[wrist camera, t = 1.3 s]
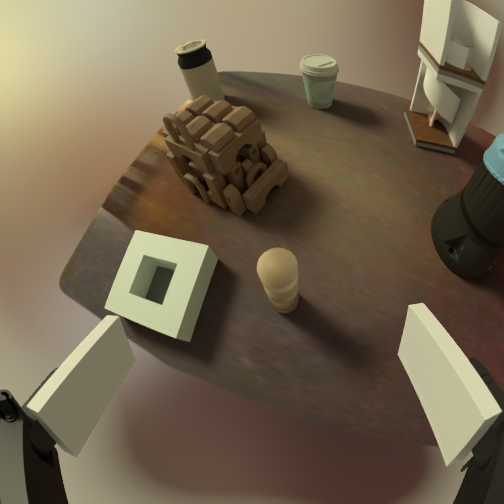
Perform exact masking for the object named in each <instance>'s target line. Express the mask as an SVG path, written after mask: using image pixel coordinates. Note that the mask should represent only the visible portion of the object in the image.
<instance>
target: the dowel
mask: <svg viewBox="0 0 504 504" xmlns="http://www.w3.org/2000/svg"><path fill="white" fill-rule="evenodd" d="M257 272H258V275H259V277H260V279H261V282H262V284H263V286H264V288H265V291H266V293H267V295H268V297H269V300H270V302H271V304H272V306H273V308H274V309H275V310H276V311H277V312H279V313H283V314H287V313H290V312H292V311H294V310H295V309H296V307H297V305H298V301H299V295H298V263H297V260H296V258H295V256H294V255H293V254H292V253H291V252H290V251H288V250H286V249H283V248H273V249H270V250H268V251H266V252H265V253H263V254H262V256H261V257H260V258H259V260H258V264H257Z"/></svg>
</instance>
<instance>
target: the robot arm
mask: <svg viewBox="0 0 504 504" xmlns="http://www.w3.org/2000/svg"><path fill="white" fill-rule="evenodd" d="M431 232H432V239H433V242H434V245H435V248H436V250H437V252H438V254H439V256H440V258H441V259H442V260H443V262H444V263H445V264H446V265H447V267H448V268H449V269H451V270H452V271H453V272H454V273H456V274H457V275H459V276H461V277H464V278H468V279H475V278H478V277H481V276H482V275H484V274H485V273H487V272H488V271H489V270H491V268H492V267H493V266H494V264H495V263H496V261H497V258H498V256H499V255H500V254H501V252H502V250H503V248H504V133H502V134H500V135H498V136H497V137H496V139H495V140H494V142H493V143H492V145H491V146H490V148H488V149H487V150H486V151H485V153H484V158H483V160H482V162H481V163H480V165H479V166H478V168H477V169H476V171H475V172H474V174H473V175H472V177H471V178H470V180H469V181H468V183H467V184H466V186H465V187H464V189H463V190H462V191H461V192H459V193H457V194H456V195H454V196H453V197H450V198H448V199H446V200H445V201H444V202H443V203H442V204H441V205H440V206H439V208H438V209H437V210H436V212H435V214H434V216H433V219H432V224H431ZM398 356H399V357H400V359H401V361H402V363H403V365H404V367H405V370H406V372H407V374H408V376H409V378H410V380H411V382H412V384H413V386H414V388H415V390H416V393H417V395H418V397H419V399H420V401H421V404H422V406H423V408H424V411H425V413H426V415H427V417H428V420H429V422H430V425H431V427H432V429H433V432H434V434H435V437H436V440H437V442H438V445H439V447H440V450H441V453H442V455H443V458H444V461H445V464H446V466H449V465H451V464H454V463H456V462H458V461H460V460H462V459H464V458H465V457H466V456H467V455H468V454H469V452H470V451H471V450H472V453H473V455H474V456H473V457H472V458H471V459H470V460H469V461H468V462H467V463H466V464H465V465H464V466H463V468H462V469H461V472H463V471H464V470H465V469H466V468H467V467H468V469H467V471H466V474H465V477H464V479H463V482H462V484H461V487H460V489H459V491H458V494H457V496H456V498H455V500H454V502H453V504H504V393H503V392H502V390H501V389H500V387H499V386H498V384H497V383H496V382H494V379H493V377H492V376H491V374H490V375H489V372H488V370H487V369H486V368H485V366H484V365H483V364H482V363H481V362H479V361H478V360H477V359H475V358H474V357H472V358H469V359H467V358H466V356H465V355H464V353H463V352H462V351H461V349H460V348H459V347H458V345H457V344H456V343H455V342H454V340H453V339H452V338H451V336H450V335H449V334H448V333H447V331H446V330H445V329H444V328H443V326H442V325H441V324H440V323H439V321H438V320H437V319H436V318H435V317H434V315H433V314H432V313H431V312H430V311H429V309H428V308H427V307H426V306H425V305H424V303H420V304H413V305H409V307H408V312H407V317H406V322H405V326H404V331H403V335H402V339H401V344H400V348H399V351H398ZM135 361H136V360H135V357H134V355H133V352H132V350H131V347H130V345H129V342H128V339H127V337H126V334H125V331H124V329H123V326H122V323H121V320H120V317H119V316H109V315H107V316H106V317H105V318H104V319H103V320H102V321H101V322H100V323H99V324H98V325H97V326H96V327H95V328H94V330H93V331H92V332H91V333H90V334H89V335H88V336H87V337H86V338H85V339H84V340H83V342H81V343H80V345H79V346H78V347H77V348H76V349H75V350H74V351H73V352H72V353H71V354H70V356H69V357H68V358H67V359H66V360H65V361H64V362H63V364H61V366H59V367H58V368H56V369H55V370H53V371H52V372H51V373H50V374H49V375H48V376H47V378H46V380H44V381H43V382H42V383H41V386H39V387H38V388H37V389H36V390H35V392H34V393H33V394H32V395H31V397H30V398H29V399H28V400H27V401H26V403H25V404H24V405H23V406H22V407H20V405H19V404H18V403H17V401H16V400H15V399H14V397H13V396H12V395H11V393H10V391H8V390H0V504H68V500H67V496H66V493H65V489H64V484H63V480H62V475H61V470H60V464H59V458H58V452H57V450H56V448H55V447H54V445H55V444H56V443H57V444H58V445H59V446H60V447H61V448H62V449H63V450H64V451H65V452H67V453H69V454H71V455H73V456H75V457H77V456H78V454H79V453H80V451H81V449H82V447H83V446H84V444H85V442H86V441H87V439H88V437H89V435H90V434H91V432H92V430H93V429H94V427H95V425H96V423H97V422H98V420H99V419H100V417H101V415H102V414H103V412H104V410H105V409H106V407H107V405H108V404H109V402H110V400H111V399H112V397H113V396H114V394H115V392H116V391H117V389H118V388H119V386H120V384H121V383H122V381H123V380H124V378H125V376H126V375H127V373H128V372H129V370H130V369H131V367H132V365H133V364H134V362H135Z"/></svg>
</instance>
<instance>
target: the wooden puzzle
mask: <svg viewBox="0 0 504 504" xmlns="http://www.w3.org/2000/svg"><path fill="white" fill-rule="evenodd" d="M163 122H164V124H165V127H166V129H165V130H163V131H162V133H163V135H164V137H165V139H164V140H165V141H166V143H167V145H168V147H169V149H170V151H169V152H168V153H167V154H166V155H167V157H168V159H169V160H170V162H171V164H172V166H173V167H174V169H175V171H176V172H177V174H178V176H179V177H180V179H181V181H182V182H183V183H185V184H186V185H187V186H188V188H189V190H190V191H191V193H192V194H194V195H195V194H196V193H197V190H196V189H198V190H199V192H200V194H201V196H202V197H203V199H204V201H205V202H206V203H209V202H210V201H213V202H215V203H216V204H218V205H219V206H221V207H223V208H224V209H226V208H227V207H228V205H229V208H230V210H231V211H232V212H233V213H235V214H236V215H238V216H241V215H242V214H243V213H244V211H245V210H246V207H247V209H248V210H250V211H251V212H253V213H254V214H257V213H258V212H259V211H260V209H261V208H262V207H263V206H264V205H265V200H266V197H267V195H268V193H269V191H270V190H271V188H272V187H274V186H275V185H277V186H279V187H281V186H282V185H283V183H284V182H285V181H286V180H287V179H288V168H287V163H286V162H284V161H282V160H280V159H277V154H276V152H275V150H274V149H273V147H272V146H271V145H269V144H268V143H266V138H265V132H264V131H263V130H261V126H260V121H259V120H258V119H256V117H255V115H254V113H253V111H252V110H250V109H249V108H247V107H246V106H241V107H235V106H232V105H231V104H229V103H228V102H226V101H225V100H219V101H215V100H212V99H211V98H210V97H208V96H207V95H203V96H200V97H198V98H197V99H196V100H194V101H193V102H192V103H190V104H189V105H188V106H187V107H186V108H185V110H184V111H180V112H179V113H178V114H177V115H173V114H167V115H165V116H164V117H163ZM204 181H206V183H207V185H208V187H209V189H210V190H209V191H208V192H206V190H205V188H204V186H203V185H202V183H203V182H204ZM247 187H248V188H247ZM243 199H244V201H243ZM244 202H245V204H246V207H245V204H244Z"/></svg>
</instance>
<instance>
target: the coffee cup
mask: <svg viewBox="0 0 504 504" xmlns="http://www.w3.org/2000/svg"><path fill="white" fill-rule="evenodd" d="M300 70H301V71H302V75H303V80H304V85H305V90H306V95H307V100H308V104H309V105H310V106H311V107H313V108H317V109H326V108H329V107H330V106H331V105H332V100H333V95H334V89H335V83H336V77H337V73H338V72H339V68H338V65H337V62H336V60H335V59H333V58H331V57H329V56H326V55H320V54H317V55H316V54H315V55H308V56H306V57H304V58H303V59H302V61H301V64H300Z"/></svg>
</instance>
